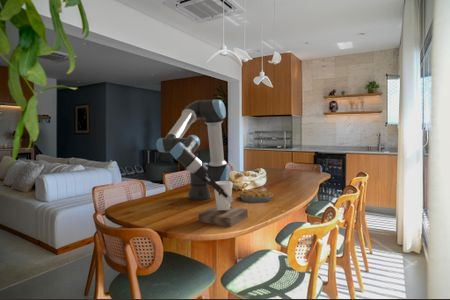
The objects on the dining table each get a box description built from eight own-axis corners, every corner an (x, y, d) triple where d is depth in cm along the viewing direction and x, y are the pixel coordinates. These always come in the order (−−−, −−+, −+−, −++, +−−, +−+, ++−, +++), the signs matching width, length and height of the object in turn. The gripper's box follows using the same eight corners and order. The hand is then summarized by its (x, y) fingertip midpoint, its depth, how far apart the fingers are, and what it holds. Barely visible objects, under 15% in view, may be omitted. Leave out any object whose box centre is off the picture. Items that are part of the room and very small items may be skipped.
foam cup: (219, 211, 139) (218, 184, 138) (210, 207, 147) (210, 182, 146) (236, 209, 143) (236, 183, 142) (227, 205, 151) (227, 180, 150)
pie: (278, 201, 182) (278, 193, 182) (246, 204, 176) (246, 196, 176) (263, 194, 203) (263, 187, 203) (234, 197, 197) (234, 189, 197)
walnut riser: (198, 221, 142) (198, 213, 142) (217, 212, 157) (217, 205, 157) (230, 226, 133) (230, 218, 133) (247, 216, 148) (247, 209, 148)
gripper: (190, 171, 152) (220, 199, 156) (193, 177, 130) (228, 210, 134) (200, 160, 153) (230, 189, 156) (205, 165, 131) (239, 198, 135)
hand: (229, 198), depth 145 cm, fingers closed on foam cup, 9 cm apart
